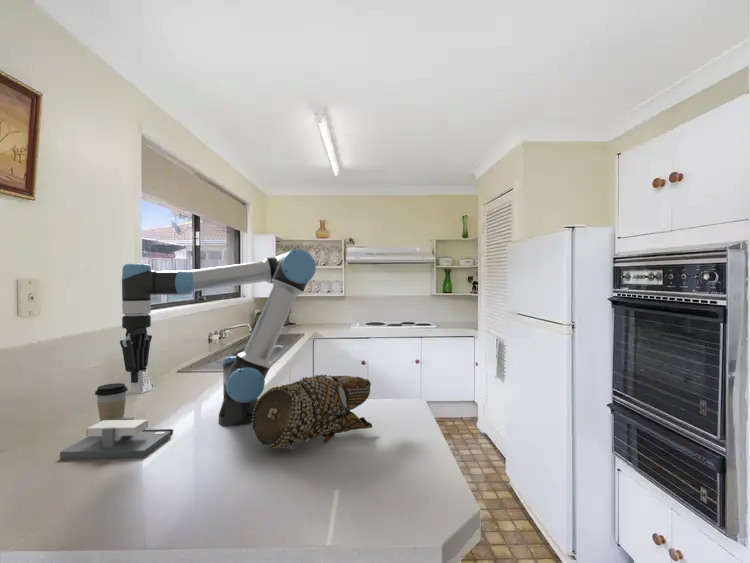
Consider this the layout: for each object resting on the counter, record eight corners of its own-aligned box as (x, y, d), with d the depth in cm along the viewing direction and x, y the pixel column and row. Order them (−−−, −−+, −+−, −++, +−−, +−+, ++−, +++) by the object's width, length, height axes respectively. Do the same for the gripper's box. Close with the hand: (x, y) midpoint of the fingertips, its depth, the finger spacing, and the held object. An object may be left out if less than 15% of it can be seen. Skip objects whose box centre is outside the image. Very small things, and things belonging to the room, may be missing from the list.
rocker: (148, 427, 127) (147, 419, 127) (134, 435, 120) (134, 427, 120) (102, 428, 127) (102, 420, 127) (86, 436, 120) (86, 428, 120)
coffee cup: (112, 435, 133) (111, 390, 133) (88, 434, 135) (87, 389, 135) (134, 425, 143) (134, 383, 143) (111, 424, 144) (111, 382, 145)
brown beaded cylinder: (329, 379, 152) (244, 381, 127) (370, 357, 140) (286, 355, 115) (342, 445, 142) (253, 461, 117) (388, 428, 130) (300, 442, 105)
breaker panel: (170, 437, 131) (170, 414, 131) (144, 457, 116) (144, 431, 116) (96, 438, 131) (95, 415, 131) (60, 458, 116) (59, 432, 116)
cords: (174, 432, 136) (174, 428, 136) (170, 435, 133) (170, 431, 133) (123, 433, 136) (123, 429, 136) (118, 436, 133) (118, 432, 133)
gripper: (136, 313, 130) (137, 387, 130) (110, 316, 117) (110, 398, 117) (160, 313, 130) (160, 387, 130) (136, 316, 117) (136, 398, 117)
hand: (136, 392), depth 123 cm, fingers closed
